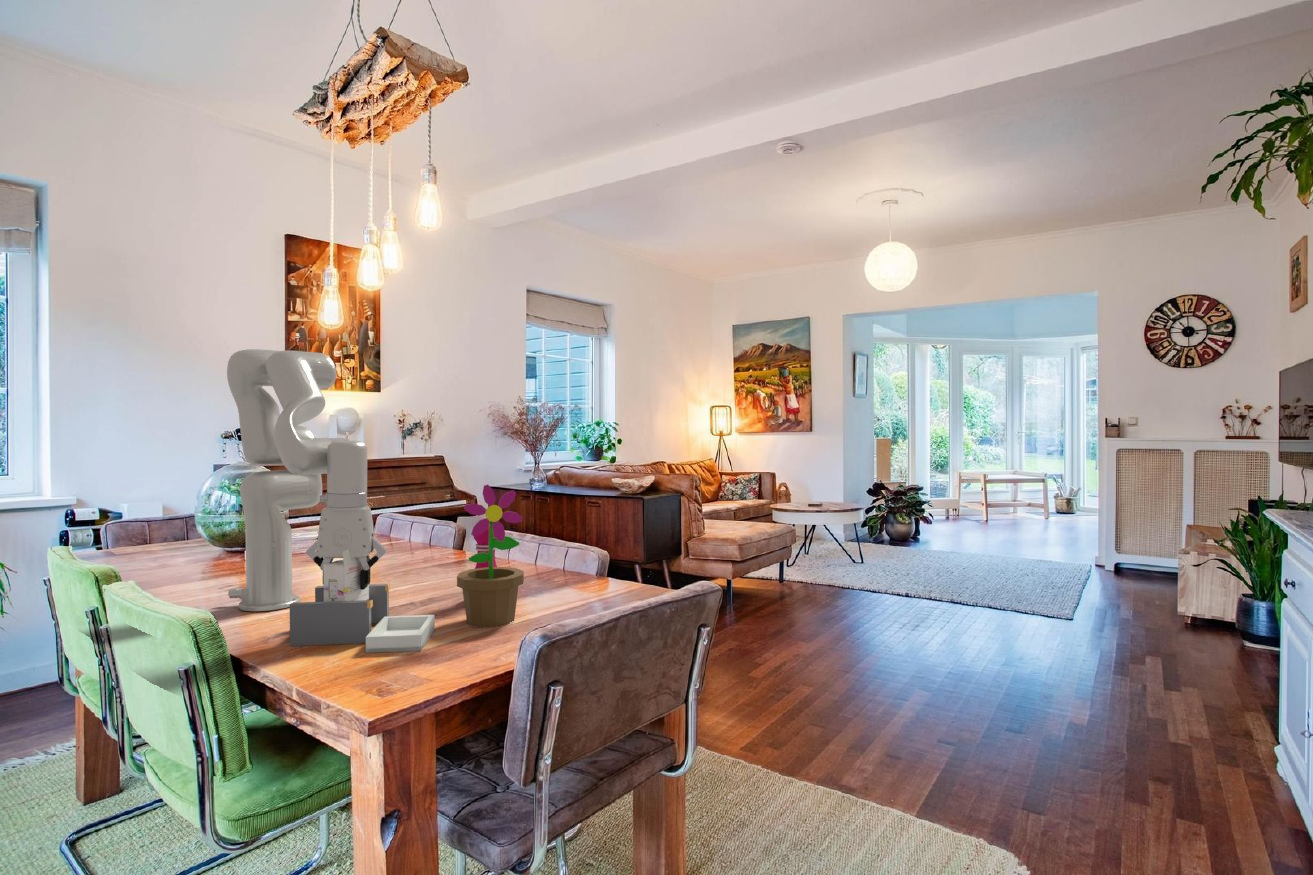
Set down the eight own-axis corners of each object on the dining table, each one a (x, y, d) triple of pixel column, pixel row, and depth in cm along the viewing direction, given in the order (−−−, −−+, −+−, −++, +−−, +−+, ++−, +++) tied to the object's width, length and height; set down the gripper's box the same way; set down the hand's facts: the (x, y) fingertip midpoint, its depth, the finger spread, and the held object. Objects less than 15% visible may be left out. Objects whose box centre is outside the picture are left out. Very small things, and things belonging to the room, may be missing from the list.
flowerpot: (462, 633, 143) (461, 486, 143) (452, 615, 156) (451, 481, 156) (531, 625, 149) (530, 484, 148) (516, 608, 162) (516, 479, 161)
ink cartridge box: (348, 610, 149) (349, 541, 149) (369, 612, 148) (370, 543, 148) (321, 622, 141) (322, 549, 140) (344, 624, 140) (344, 551, 139)
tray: (365, 652, 131) (365, 637, 131) (384, 630, 145) (384, 616, 145) (421, 650, 132) (421, 634, 132) (434, 629, 146) (434, 614, 146)
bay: (290, 646, 135) (289, 604, 135) (318, 623, 151) (317, 585, 150) (370, 642, 137) (370, 602, 137) (390, 620, 153) (390, 583, 152)
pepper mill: (507, 597, 172) (507, 516, 172) (486, 604, 166) (485, 520, 166) (486, 594, 176) (486, 514, 176) (464, 600, 170) (464, 517, 170)
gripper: (295, 503, 139) (295, 593, 139) (386, 503, 141) (385, 592, 142) (309, 498, 146) (308, 584, 147) (395, 498, 148) (394, 583, 149)
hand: (346, 587), depth 144 cm, fingers closed on ink cartridge box, 6 cm apart
